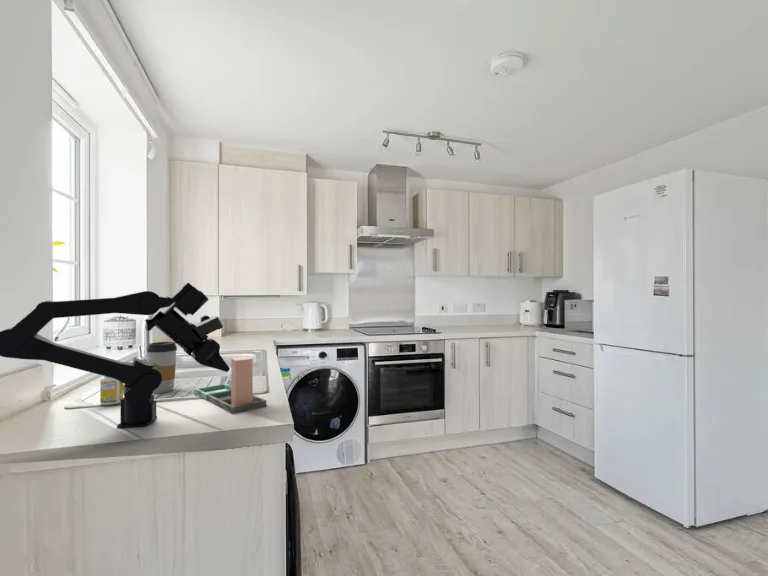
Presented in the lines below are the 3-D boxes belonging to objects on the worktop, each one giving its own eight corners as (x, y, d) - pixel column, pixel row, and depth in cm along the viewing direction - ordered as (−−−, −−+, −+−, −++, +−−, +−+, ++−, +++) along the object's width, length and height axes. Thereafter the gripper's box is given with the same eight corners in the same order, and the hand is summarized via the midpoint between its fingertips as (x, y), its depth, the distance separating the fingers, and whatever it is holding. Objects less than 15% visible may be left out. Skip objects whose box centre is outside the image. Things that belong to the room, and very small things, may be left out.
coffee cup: (140, 393, 124) (140, 344, 124) (161, 386, 132) (161, 341, 132) (163, 394, 122) (163, 345, 122) (183, 388, 130) (183, 341, 130)
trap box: (266, 405, 110) (266, 400, 110) (232, 413, 103) (232, 407, 103) (225, 388, 130) (225, 383, 130) (194, 393, 123) (194, 388, 123)
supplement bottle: (107, 406, 110) (107, 371, 110) (95, 404, 112) (95, 369, 112) (127, 401, 115) (127, 367, 115) (115, 399, 117) (115, 366, 117)
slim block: (235, 409, 107) (235, 360, 107) (231, 405, 111) (231, 358, 111) (252, 406, 110) (252, 358, 110) (247, 402, 113) (247, 356, 113)
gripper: (210, 307, 97) (256, 348, 103) (195, 304, 112) (236, 341, 119) (173, 342, 92) (224, 383, 99) (164, 334, 108) (208, 370, 114)
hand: (224, 367), depth 108 cm, fingers open, 9 cm apart
